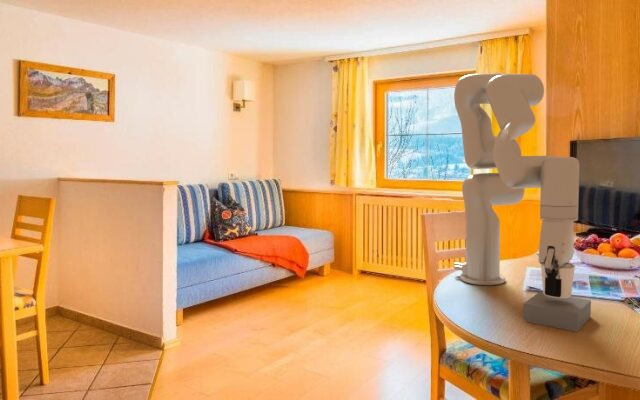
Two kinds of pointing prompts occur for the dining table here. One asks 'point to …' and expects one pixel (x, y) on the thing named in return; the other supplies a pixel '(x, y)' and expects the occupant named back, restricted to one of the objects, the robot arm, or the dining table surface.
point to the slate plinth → (557, 311)
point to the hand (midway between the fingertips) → (557, 291)
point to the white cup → (562, 279)
